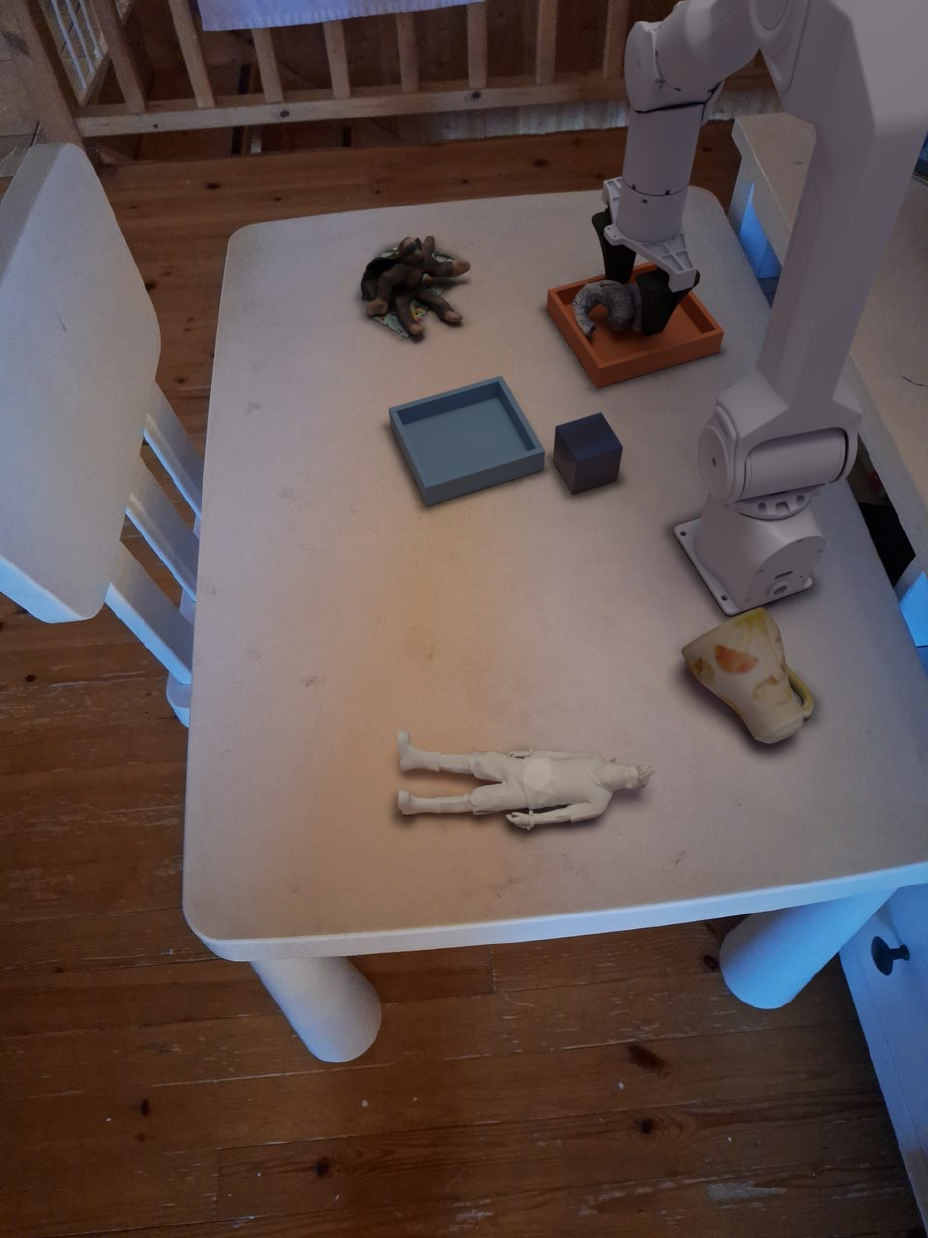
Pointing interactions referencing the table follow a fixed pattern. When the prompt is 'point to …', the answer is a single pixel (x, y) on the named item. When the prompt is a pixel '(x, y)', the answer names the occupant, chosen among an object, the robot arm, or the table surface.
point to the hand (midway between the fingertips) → (634, 307)
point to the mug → (751, 674)
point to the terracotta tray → (633, 335)
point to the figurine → (524, 782)
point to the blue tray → (466, 440)
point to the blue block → (587, 453)
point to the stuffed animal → (410, 285)
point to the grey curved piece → (609, 305)
